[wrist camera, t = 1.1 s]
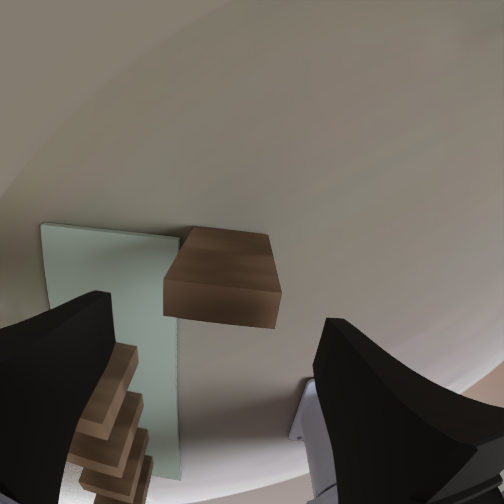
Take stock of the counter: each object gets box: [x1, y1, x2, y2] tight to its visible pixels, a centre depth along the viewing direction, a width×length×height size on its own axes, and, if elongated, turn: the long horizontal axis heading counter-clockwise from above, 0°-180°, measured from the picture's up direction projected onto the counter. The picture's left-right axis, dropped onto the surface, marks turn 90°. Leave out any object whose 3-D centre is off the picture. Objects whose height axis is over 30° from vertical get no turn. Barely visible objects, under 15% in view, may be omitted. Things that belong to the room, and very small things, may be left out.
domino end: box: [94, 455, 154, 504], centre depth 22 cm, size 4×2×8 cm, turn 82°
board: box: [41, 222, 181, 481], centre depth 23 cm, size 10×28×1 cm, turn 172°
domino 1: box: [75, 342, 139, 441], centre depth 17 cm, size 4×2×8 cm, turn 82°
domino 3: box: [79, 427, 149, 504], centre depth 20 cm, size 4×2×8 cm, turn 83°
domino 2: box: [66, 391, 144, 478], centre depth 19 cm, size 4×2×8 cm, turn 83°
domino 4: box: [163, 226, 282, 329], centre depth 15 cm, size 4×2×8 cm, turn 82°
